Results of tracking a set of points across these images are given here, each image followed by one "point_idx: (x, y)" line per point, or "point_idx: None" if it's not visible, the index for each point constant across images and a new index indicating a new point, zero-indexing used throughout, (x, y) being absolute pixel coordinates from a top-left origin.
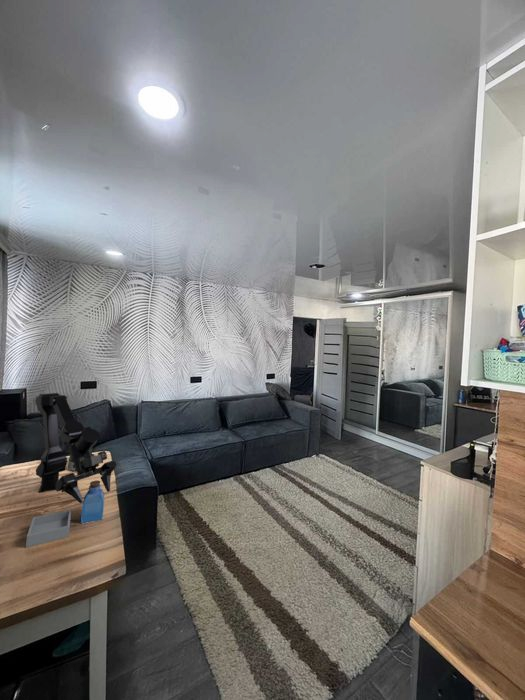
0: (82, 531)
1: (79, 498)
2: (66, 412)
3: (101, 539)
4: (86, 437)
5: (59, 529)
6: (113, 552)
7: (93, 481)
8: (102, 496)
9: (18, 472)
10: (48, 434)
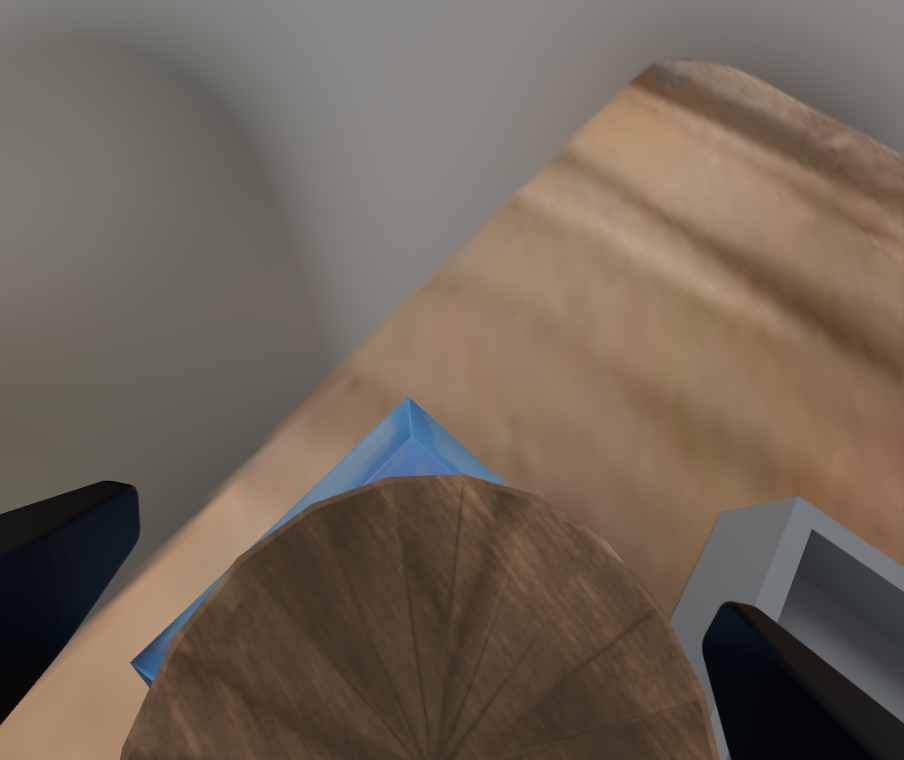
0: (611, 475)
1: (845, 684)
2: None
3: (583, 267)
4: None
5: (877, 557)
6: (612, 138)
7: None
8: (351, 467)
9: None
10: None
